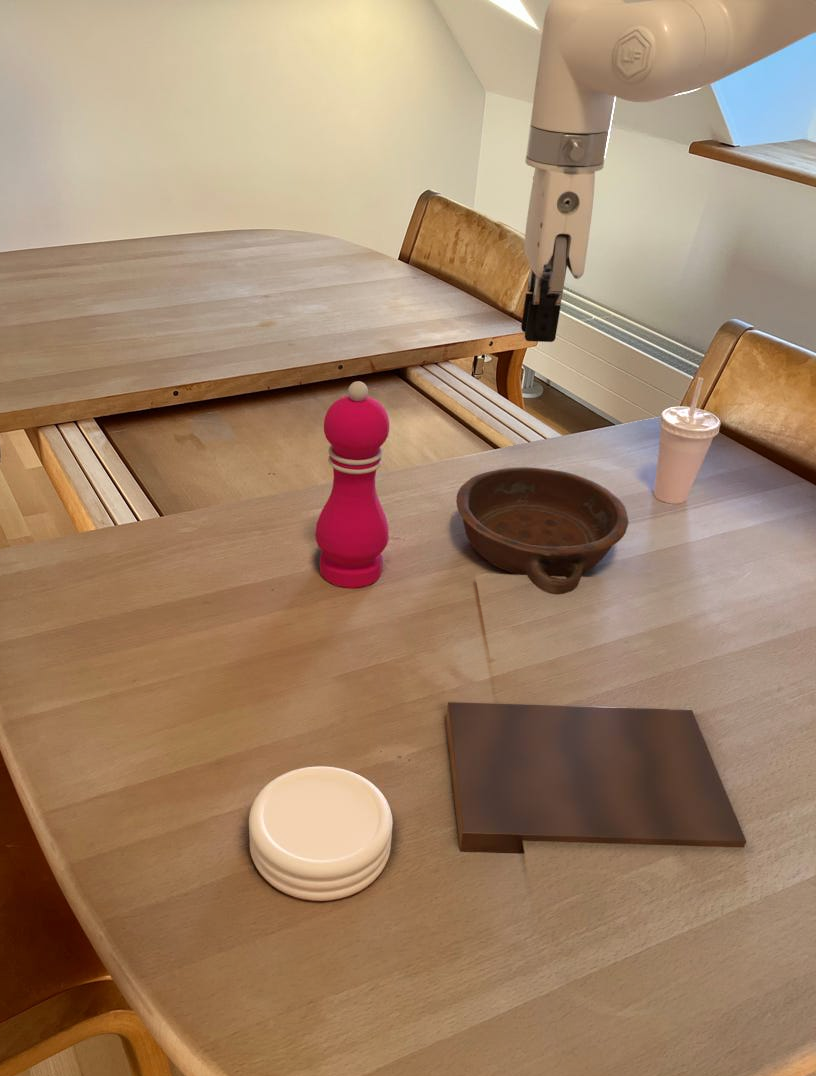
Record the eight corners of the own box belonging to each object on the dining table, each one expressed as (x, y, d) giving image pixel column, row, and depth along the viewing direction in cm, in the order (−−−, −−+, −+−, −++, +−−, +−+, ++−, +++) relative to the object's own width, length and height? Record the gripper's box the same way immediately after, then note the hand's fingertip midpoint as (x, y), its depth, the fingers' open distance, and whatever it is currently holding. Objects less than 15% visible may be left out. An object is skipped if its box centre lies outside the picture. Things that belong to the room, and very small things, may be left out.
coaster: (327, 776, 75) (328, 743, 73) (418, 854, 69) (422, 820, 67) (222, 840, 69) (219, 806, 67) (311, 930, 64) (311, 896, 61)
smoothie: (697, 486, 114) (729, 372, 106) (700, 513, 109) (735, 395, 101) (641, 479, 115) (669, 366, 107) (642, 505, 110) (671, 388, 102)
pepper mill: (390, 556, 100) (403, 370, 88) (381, 595, 94) (393, 402, 82) (322, 548, 101) (325, 363, 89) (308, 586, 95) (310, 394, 83)
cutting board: (686, 727, 80) (692, 709, 79) (738, 860, 69) (747, 841, 68) (445, 720, 80) (447, 701, 79) (459, 851, 69) (462, 832, 68)
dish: (580, 492, 112) (588, 453, 109) (652, 601, 95) (664, 558, 92) (433, 497, 110) (437, 458, 107) (478, 610, 93) (485, 566, 90)
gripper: (623, 167, 87) (585, 365, 98) (589, 134, 100) (559, 312, 111) (540, 164, 87) (512, 362, 98) (516, 131, 100) (494, 310, 111)
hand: (537, 334), depth 105 cm, fingers closed
